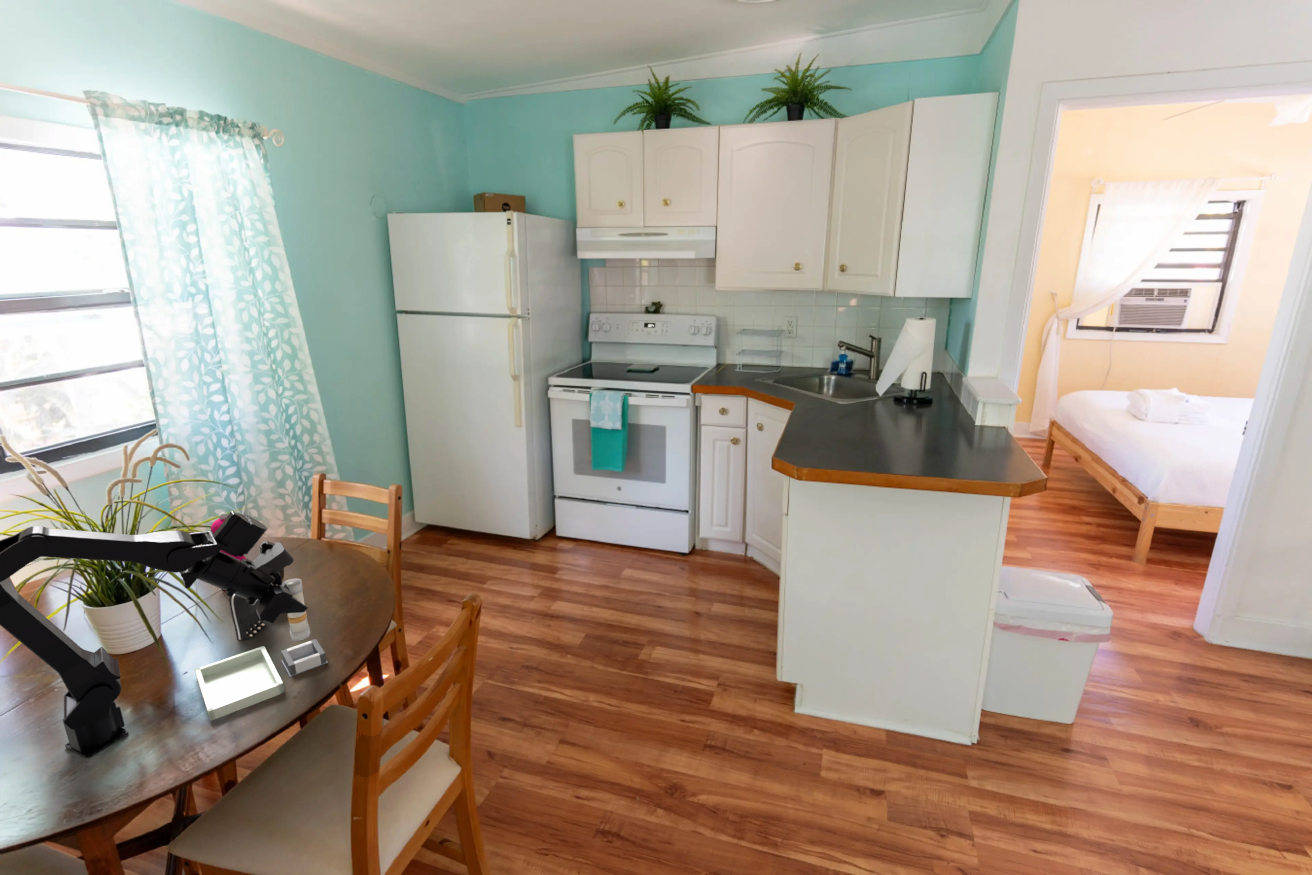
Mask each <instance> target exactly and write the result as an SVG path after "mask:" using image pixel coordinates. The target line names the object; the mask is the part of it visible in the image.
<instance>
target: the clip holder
mask: <svg viewBox="0 0 1312 875" xmlns="http://www.w3.org/2000/svg"><path fill="white" fill-rule="evenodd" d="M280 652H281V657H282V659H281V660H280V662H282V664H283V666H284V668H285V670H286V671H287V674H288V676H289V677H290V678H291V677H293V676H296V675H298V674H301V673H305V672H306V671H309V670H312V669H315V668H317V667H320V666H322V665H325V664H328V660H327V656H326V652H325V651H324V649H323V648H322V646H321V644H320V643H319V642H318V639H316V638H314V639H311V640H309V641H306V642H303V643H299V644H297V645H295V646H291V647H288V648H286V649H283V650H280Z"/></svg>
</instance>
